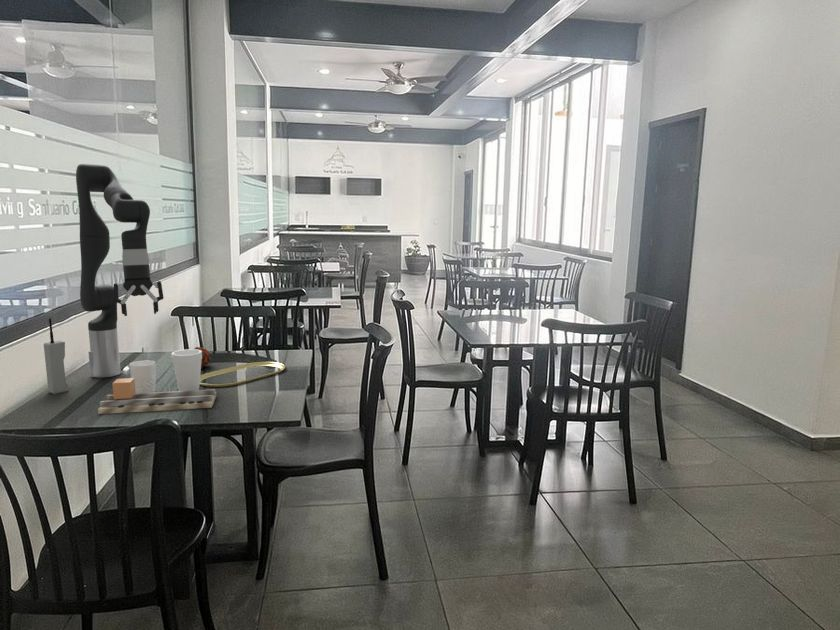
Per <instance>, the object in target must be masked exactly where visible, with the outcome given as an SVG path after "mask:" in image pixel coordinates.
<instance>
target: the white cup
mask: <svg viewBox="0 0 840 630" xmlns="http://www.w3.org/2000/svg"><path fill="white" fill-rule="evenodd" d="M156 363H157V362H156V361H155V360H150V359H148V360H144V359H143V360H136V361H132V362H130V363H129V366H128V367H129V372H130V373H129V374H130V378H135V390H136V393H152V392H157V391H156V389H157V388H156V383H157V376H156V375H157V372H156V371H157V370H156V367H157V366H156Z"/></svg>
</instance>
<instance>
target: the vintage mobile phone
mask: <svg viewBox="0 0 840 630" xmlns="http://www.w3.org/2000/svg"><path fill="white" fill-rule="evenodd" d="M48 323H49V337H50V338H49V339H50V341H49V342H44V343H43V351H44V352H43V353H44V361H45V370H46V371H45V372H46V378H47V379H46V380H47V381H46V382H47V389H48V392H49V393H50V394H53V395H56V394H61V393H65V392H69V391H70V386H69V385H68V384H67V382H66V381H67V380H66V372H65V362H64V361H65V358H66V342H65V341H62V340H56V341H55V339H54V333H53V325H52V324H53V323H52V318H50V317H49V318H48Z"/></svg>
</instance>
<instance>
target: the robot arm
mask: <svg viewBox="0 0 840 630" xmlns="http://www.w3.org/2000/svg"><path fill="white" fill-rule="evenodd" d="M75 181H76V182H75V183H76V191H77V200H78V209H79V210H78V211H79V212H78V213H79V246H80V247H79V249H80V264H81V265H80V266H81V267H80V268H81V269H80V286H79V287H80V289H79V299H80V305H81V308H82V309H83V310H84V311H85V312H87V313H89V312H90V313H91V312H98V311H99V312H100V311H101V313H100V314H99V315H98V316H97V317H95V318H94V319H91V320H90V321H88V323H87V325H88V326H87V329H88V339H89V349H90V350H89V351H88V353H87V354H88V362H89V363H88V365H89V373H90V378H98V379H99V378H100V379H101V378H109V377H110V378H111V377H115V376H118V375H120V374H121V359H120V348H119V346H120V345H119V337H118V304H120V306H121V307H120V308H121V314H122V315H124V317H128V310H127V308H128V307H127V304H126V302H127V301H128V299H129V298H130V296H131V297H132V296H133V297H138V296H142V297H143V296H146V295H148V297H149V298H150V299H151V300H152V304H153V305H152V306H153V314H154V315H156V314H157V313H158V312H159V301H162V300H164V293H163V292H164V291H163V284H162V281H160V280H158V281H152V280H151V271H150V260H149V259H150V258H149V253H148V249H147V248H148V245H147V232H148V231H147V230H148V224H149V220H150V215H151V209H150V206H149V205H148V203H147V202H146V201H145V200H143V199H142V200H141V199H134V198H133V196H132V195H131V194H130V193H129V192H127V190H125V189H124V188H123V186H122V185H121V183H120V181H119V179H118V178H117V176H116V174H115V173H114V172H113V170H112V169H111V168H110V167H109V166H107V165H101V164H91V163H89V164H88V163H80V164H77V167H76V171H75ZM91 193H103V199H104V201H105V202H106V204H107V205H108V206H109V207H110V208H111V210H112V214H113V218H114V219H115V220H116V221H117V222H120V223H125V224H126V223H130V224H131V223H136V225H135V226H134V228H132V229H128V230H124V231H122V232H121V237H120V238H121V246H122V248H121V250H122V253H121V257H122V259H121V260H122V266H123V268H122V269H123V278H124V279H123V280H124V281H123V283H116V282H115V283H114V284H113V285H111V284H110V283H109V284H108V283H107V284H105V283H104V284H96V277H97V274H98V271H99V269H100V267H101V265H102V264H103V263H104V261H105V260H106V258H107V256H108V254H109V252H110V247H111V243H110V241H111V240H110V239H111V237H110V229H109V228H108V226H107V224H106V222H105V221H104V219H103V218H102V217H101V215H100V214H99V213H98V211H97V210H96V208H95V206H94V204H93V201H92V198H91ZM153 286H154V287H155V288H156V289H157V291H158V296H157V297H156V296H155V295H154V294H153V293H152V291H151V288H153ZM122 288H123V289H125V291H126V294H125V295H124V296H123V298H121V299H120V298H119V291H121V289H122Z"/></svg>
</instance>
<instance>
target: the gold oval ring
mask: <svg viewBox="0 0 840 630" xmlns="http://www.w3.org/2000/svg"><path fill="white" fill-rule="evenodd" d="M258 366H263V367H264V366H265V367H266V366H267V367H268V366H269V367H276V368H279V370H277V371H274V372H270V373H266V374H263V375H262V374H261V375H259V376H255V377H252V378H247V379H244V380H240V381H236V382H230V383H221V384H219V383H218V384H215V383H212V384H211V383H202V381H203V380H205V379H208V378H212V377H214V376H219V375H223V374H227V373H231V372H236V371H239V370H242V369H246V368H251V367H258ZM285 368H286V365H285V364H283V363H281V362H276V361H254V362H248V363H243V364H239V365H236V366H231V367H227V368H223V369H218V370H215V371H211V372H206V373H203V374H200V385H199V386H203V387H208V388H209V387H210V388H225V387H232V386H237V385H241V384H245V383H249V382H252V381H255V380H260V379H263V378H267V377H270V376H273V375H278V374H280V373H281V372H283V371H284V370H285Z"/></svg>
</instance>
